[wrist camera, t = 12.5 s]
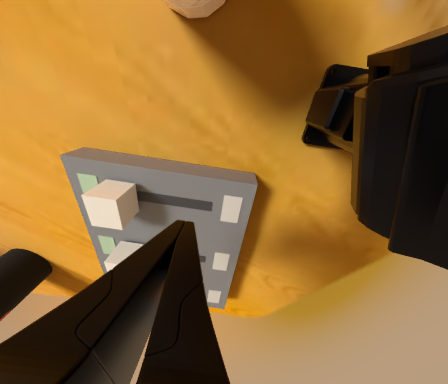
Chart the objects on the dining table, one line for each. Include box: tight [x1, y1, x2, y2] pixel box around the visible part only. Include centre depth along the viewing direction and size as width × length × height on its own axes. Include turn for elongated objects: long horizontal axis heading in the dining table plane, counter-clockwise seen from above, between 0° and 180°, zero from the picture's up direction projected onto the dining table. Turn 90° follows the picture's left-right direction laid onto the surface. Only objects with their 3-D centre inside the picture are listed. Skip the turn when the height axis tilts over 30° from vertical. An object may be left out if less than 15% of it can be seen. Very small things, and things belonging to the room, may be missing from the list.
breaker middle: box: [104, 241, 144, 272], centre depth 21 cm, size 3×4×3 cm
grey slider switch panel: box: [60, 147, 258, 309], centre depth 24 cm, size 20×25×3 cm
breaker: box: [81, 179, 139, 230], centre depth 17 cm, size 3×4×3 cm
